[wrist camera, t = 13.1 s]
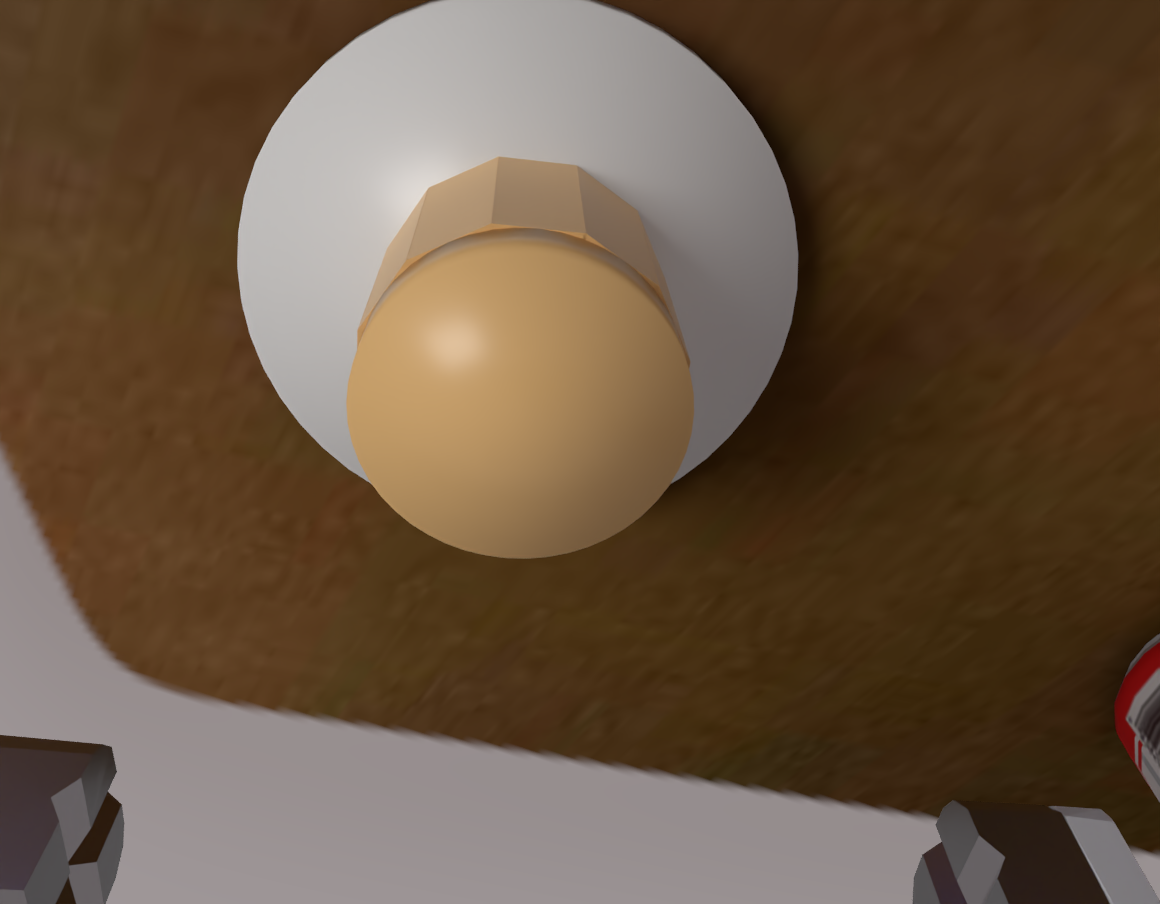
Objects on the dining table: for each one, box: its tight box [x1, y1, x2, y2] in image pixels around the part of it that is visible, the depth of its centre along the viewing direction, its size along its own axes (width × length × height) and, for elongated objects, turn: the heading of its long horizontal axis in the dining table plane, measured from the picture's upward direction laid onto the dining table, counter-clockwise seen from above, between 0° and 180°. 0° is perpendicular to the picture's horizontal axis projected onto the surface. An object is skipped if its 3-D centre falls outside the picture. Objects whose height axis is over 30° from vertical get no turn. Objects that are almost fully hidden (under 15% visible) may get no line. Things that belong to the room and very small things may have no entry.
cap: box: [346, 156, 694, 559], centre depth 20 cm, size 6×6×6 cm
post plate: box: [237, 0, 798, 484], centre depth 21 cm, size 12×12×4 cm
